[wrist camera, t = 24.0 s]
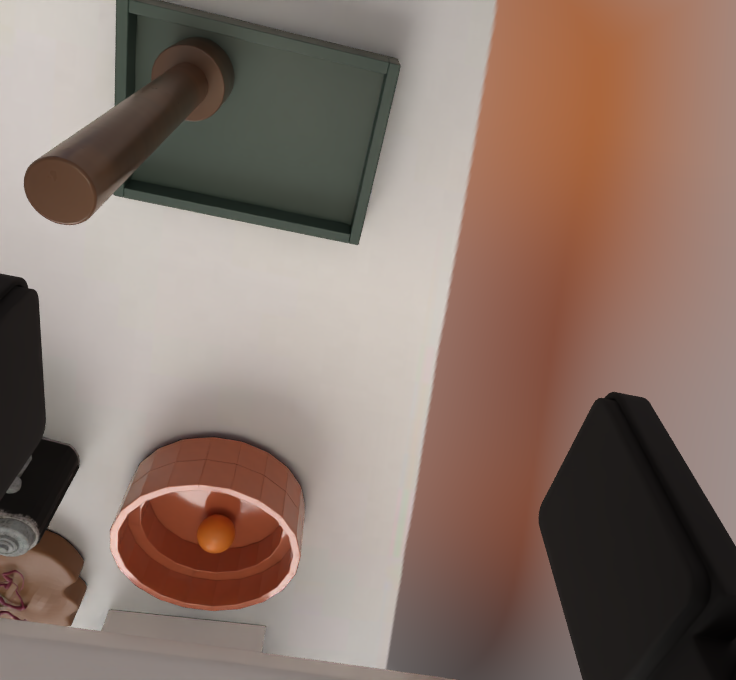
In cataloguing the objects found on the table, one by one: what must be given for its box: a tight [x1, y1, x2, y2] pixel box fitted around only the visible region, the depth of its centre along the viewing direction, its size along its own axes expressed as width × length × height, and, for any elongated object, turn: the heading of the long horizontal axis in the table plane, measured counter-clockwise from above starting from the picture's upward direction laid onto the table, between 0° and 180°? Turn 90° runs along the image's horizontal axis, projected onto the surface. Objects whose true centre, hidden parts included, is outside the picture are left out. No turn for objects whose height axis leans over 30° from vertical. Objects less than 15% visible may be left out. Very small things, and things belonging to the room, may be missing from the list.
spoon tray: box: [113, 0, 400, 245], centre depth 35 cm, size 14×10×2 cm
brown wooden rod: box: [24, 37, 234, 225], centre depth 26 cm, size 4×4×19 cm
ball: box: [197, 514, 235, 554], centre depth 51 cm, size 3×3×3 cm
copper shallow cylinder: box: [110, 437, 305, 611], centre depth 49 cm, size 14×14×6 cm
